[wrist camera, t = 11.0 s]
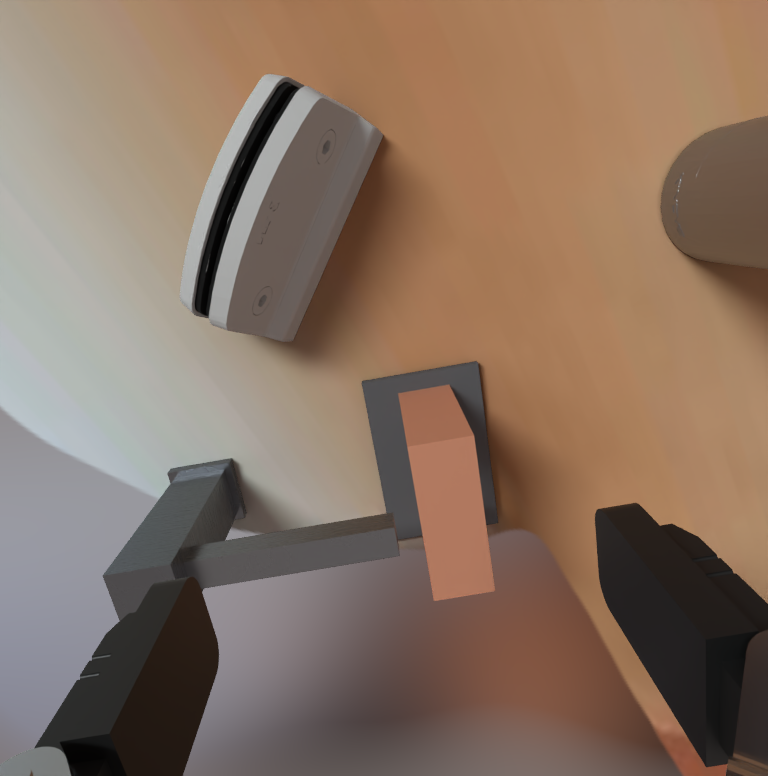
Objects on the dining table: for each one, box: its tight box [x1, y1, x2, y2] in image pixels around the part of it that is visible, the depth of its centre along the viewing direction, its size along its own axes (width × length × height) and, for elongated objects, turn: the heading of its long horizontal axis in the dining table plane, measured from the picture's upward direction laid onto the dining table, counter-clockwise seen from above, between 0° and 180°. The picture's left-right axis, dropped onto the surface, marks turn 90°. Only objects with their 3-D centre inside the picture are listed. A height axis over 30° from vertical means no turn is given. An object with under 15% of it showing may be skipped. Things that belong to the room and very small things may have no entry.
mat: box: [362, 361, 498, 540], centre depth 45 cm, size 9×14×1 cm, turn 10°
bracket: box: [103, 458, 400, 621], centre depth 39 cm, size 18×5×14 cm, turn 100°
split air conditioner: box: [180, 74, 383, 342], centre depth 36 cm, size 17×5×10 cm, turn 154°
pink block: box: [398, 385, 495, 601], centre depth 40 cm, size 4×11×10 cm, turn 10°
